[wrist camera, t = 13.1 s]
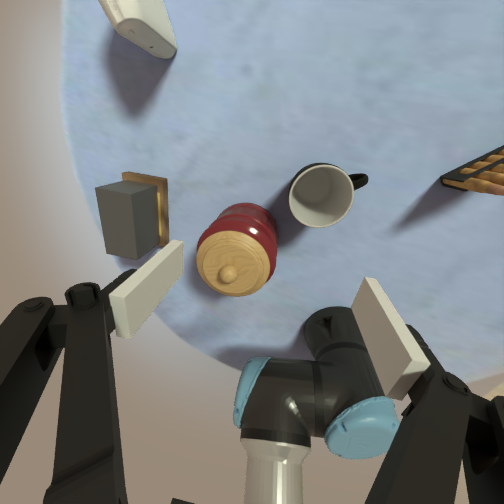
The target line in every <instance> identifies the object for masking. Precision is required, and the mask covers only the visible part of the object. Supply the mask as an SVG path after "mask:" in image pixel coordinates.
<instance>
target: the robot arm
mask: <svg viewBox="0 0 504 504" xmlns="http://www.w3.org/2000/svg"><path fill="white" fill-rule="evenodd" d="M182 274H183V241H179V240H172V241H171V242H170V243H168V244H167V245H166V246H165V247H164V248H163V249H161V250H160V251H159V252H158V253H157V254H156V255H154V256H153V257H152V258H151V259H150V260H149V261H147V262H146V263H145V264H144V265H143V266H142V267H140V268H139V269H138V270H137V269H130V270H128V271H126V272H124V273H122V274H121V275H120V276H119V277H118V278H116V279H115V280H114V281H113V282H111V283H110V284H109V285H107V286H106V287H105V288H104V289H102V290H100V287H99V285H98V284H96V283H91V282H87V283H80V284H76V285H74V286H72V287H70V288H69V289H68V290H67V291H66V292H65V297H66V301H67V304H68V305H54V304H53V301H52V300H51V298H48V297H36V298H32V299H28V300H25V301H24V302H22V303H20V304H18V305H17V306H16V307H15V308H14V309H13V310H12V311H11V313H10V314H9V315H8V316H7V318H6V319H5V320H4V322H3V323H2V324H1V325H0V484H1V482H2V480H3V477H4V476H5V473H6V471H7V469H8V467H9V465H10V462H11V460H12V458H13V456H14V454H15V451H16V449H17V447H18V445H19V443H20V441H21V439H22V436H23V434H24V432H25V430H26V428H27V425H28V423H29V421H30V419H31V416H32V415H33V412H34V410H35V408H36V406H37V404H38V402H39V399H40V397H41V395H42V393H43V390H44V388H45V386H46V384H47V382H48V379H49V377H50V375H51V373H52V371H53V369H54V367H55V364H56V362H57V360H58V358H59V356H60V354H61V351H62V349H63V348H65V353H64V364H63V375H62V385H61V395H60V396H61V397H60V406H59V417H58V427H57V438H56V448H55V460H54V469H53V478H52V482H51V485H50V486H49V488H48V489H47V490H46V493H45V496H44V499H43V504H128V501H127V494H126V487H125V479H124V468H123V458H122V449H121V439H120V428H119V418H118V408H117V398H116V388H115V378H114V368H113V358H112V348H111V338H110V333H111V332H112V331H113V330H114V329H115V330H116V335H117V336H118V337H122V338H127V339H131V338H132V337H133V336H134V334H135V333H136V332H137V331H138V329H139V328H140V327H141V326H142V324H143V323H144V322H145V321H146V319H147V318H148V317H149V315H150V314H151V313H152V312H153V310H154V309H155V308H156V307H157V305H158V304H159V303H160V302H161V300H162V299H163V298H164V296H165V295H166V294H167V293H168V291H169V290H170V289H171V288H172V286H173V285H174V284H175V283H176V281H177V280H178V279H179V277H180V276H181V275H182ZM304 332H305V340H306V343H307V345H308V347H309V349H310V351H311V353H312V355H313V357H314V359H315V361H309V360H297V359H284V358H273V357H271V356H269V357H253V358H251V359H249V360H248V361H247V363H246V365H245V366H244V368H243V371H242V373H241V377H240V380H239V384H238V387H237V392H236V397H235V404H234V406H235V408H234V413H233V421H234V424H235V426H237V427H238V428H239V429H241V438H240V442H241V443H242V445H243V447H244V449H245V450H246V452H247V456H248V461H247V472H246V483H245V495H244V504H303V483H302V482H303V481H302V463H303V461H304V459H305V458H306V457H307V455H308V454H309V453H310V452H311V441H310V437H311V436H314V437H321V438H324V439H325V443H326V445H327V446H328V449H329V450H330V451H331V452H332V453H333V454H335V455H339V456H340V457H342V458H347V459H366V458H372V457H376V456H379V455H381V454H383V453H386V452H387V451H388V452H387V454H386V457H385V459H384V461H383V463H382V465H381V468H380V470H379V472H378V474H377V477H376V479H375V481H374V483H373V486H372V488H371V490H370V492H369V495H368V497H367V499H366V501H365V504H454V501H455V496H456V489H457V484H458V478H459V472H460V466H461V461H462V460H463V467H464V472H465V479H466V485H467V492H468V498H469V504H504V396H496V397H494V398H493V399H492V400H491V401H489V400H487V399H485V398H482V397H480V396H478V395H476V394H473V393H472V392H471V391H470V389H469V388H468V386H467V385H466V384H465V383H464V382H463V381H462V380H460V379H459V378H458V377H456V376H455V375H453V374H451V373H449V372H446V371H445V370H444V369H443V367H442V366H441V364H440V363H439V361H438V360H437V358H436V357H435V356H434V354H433V353H432V351H431V350H430V349H429V347H428V345H427V344H426V343H425V342H424V340H423V338H422V337H421V335H420V334H419V332H417V331H416V330H415V329H414V328H413V327H412V326H411V325H407V324H405V323H404V322H403V320H402V319H401V317H400V316H399V314H398V313H397V311H396V309H395V308H394V306H393V305H392V303H391V302H390V300H389V299H388V297H387V296H386V294H385V292H384V291H383V289H382V288H381V286H380V285H379V283H378V282H377V280H376V279H373V278H368V277H364V280H363V282H362V284H361V286H360V288H359V291H358V293H357V295H356V297H355V299H354V302H353V304H352V306H351V308H347V307H329V308H325V309H322V310H320V311H318V312H316V313H314V314H313V315H312V316H311V317H310V318H309V319H308V320H307V322H306V324H305V329H304ZM407 393H408V395H409V397H410V399H411V401H412V402H411V403H410V404H409V405H408V407H407V408H406V409H405V410H404V411H403V413H402V414H401V415H402V416H403V419H402V421H401V423H399V420H398V417H397V414H396V411H395V405H394V403H393V400H392V399H397V400H403V398H404V397H405V396H406V395H407ZM391 398H392V399H391ZM171 504H194V503H190V502H186V501H183V500H179V499H175V498H173V499H172V502H171Z"/></svg>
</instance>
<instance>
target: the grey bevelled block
mask: <svg viewBox="0 0 504 504" xmlns="http://www.w3.org/2000/svg"><path fill="white" fill-rule="evenodd" d="M95 191H96V196H97V202H98V208H99V213H100V219H101V225H102V230H103V236H104V242H105V247H106V253H107V254H111V255H116V256H121V257H125V258H130V259H135V260H138V259H140V258H141V257H142V256H143V255H145V254H146V253H147V252H148V251H150V250H151V249H152V248H153V247H155V246H156V245H157V244H158V243H160V235H159V215H158V195H157V185H152V184H146V183H141V182H135V181H130V180H125V181H121V182H116V183H112V184H108V185H104V186H100V187H96V188H95Z"/></svg>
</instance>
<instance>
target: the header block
mask: <svg viewBox="0 0 504 504" xmlns="http://www.w3.org/2000/svg"><path fill="white" fill-rule="evenodd" d="M122 179H123V181H125V180H130V181H135V182H141V183H146V184H152V185H157V195H158V215H159V235H160V243H158V244H157V245H159V246H164V247H165V246H166V245H167V244H168V243H169V218H168V185H167V178H162V177H156V176H151V175H145V174H139V173H134V172H123V173H122Z"/></svg>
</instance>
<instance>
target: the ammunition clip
mask: <svg viewBox="0 0 504 504" xmlns="http://www.w3.org/2000/svg"><path fill="white" fill-rule="evenodd" d="M440 179H441V182H442V185H443V186H445V187H449V188H453V189H458V190H462V191H468V190H471V191H475V192H479V193H488V194H494V195H504V145H503V146H501V147H499V148H497V149H495V150H493V151H491V152H489V153H487V154H485V155H483V156H481V157H479V158H477V159H475V160H472V161H470V162H468V163H466V164H464V165H462V166H460V167H458V168H456V169H454V170H452V171H450V172H448V173H446V174H444V175H442V176H441V177H440Z"/></svg>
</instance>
